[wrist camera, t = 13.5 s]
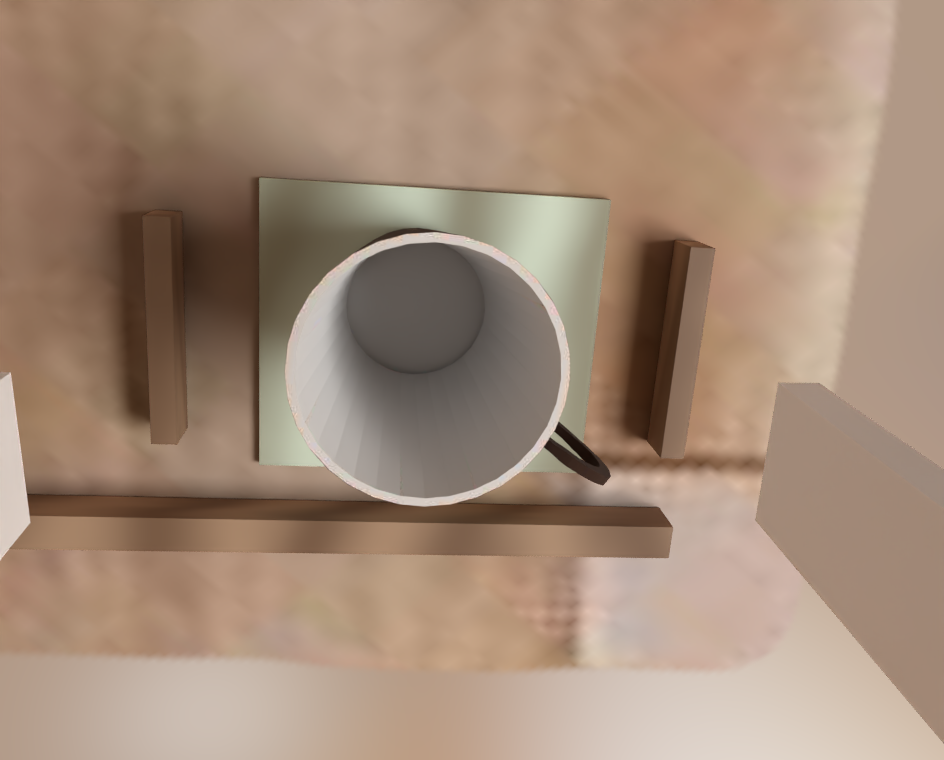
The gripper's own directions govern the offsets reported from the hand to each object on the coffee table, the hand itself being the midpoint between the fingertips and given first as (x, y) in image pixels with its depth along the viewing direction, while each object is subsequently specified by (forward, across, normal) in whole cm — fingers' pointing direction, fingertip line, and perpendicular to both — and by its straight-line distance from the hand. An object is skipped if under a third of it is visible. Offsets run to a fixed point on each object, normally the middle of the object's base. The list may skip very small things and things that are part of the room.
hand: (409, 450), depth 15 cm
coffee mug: (+21, +2, -4) cm, 22 cm away
